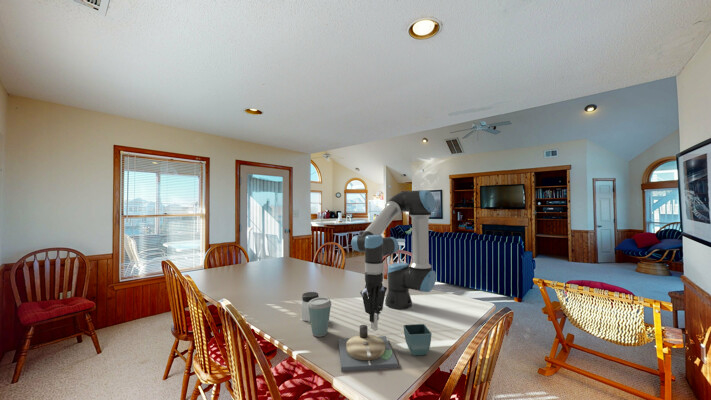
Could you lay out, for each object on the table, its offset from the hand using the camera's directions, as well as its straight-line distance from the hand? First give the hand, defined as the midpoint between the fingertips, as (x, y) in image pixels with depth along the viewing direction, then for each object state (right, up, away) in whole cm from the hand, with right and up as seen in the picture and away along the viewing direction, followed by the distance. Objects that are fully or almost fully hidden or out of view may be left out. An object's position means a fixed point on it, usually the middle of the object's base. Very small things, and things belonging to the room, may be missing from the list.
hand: (374, 329), depth 115 cm
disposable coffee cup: (-24, -6, +8) cm, 26 cm away
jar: (-31, -6, +24) cm, 39 cm away
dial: (-4, -3, -10) cm, 11 cm away
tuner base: (-4, -5, -9) cm, 11 cm away
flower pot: (+16, -5, -8) cm, 19 cm away
